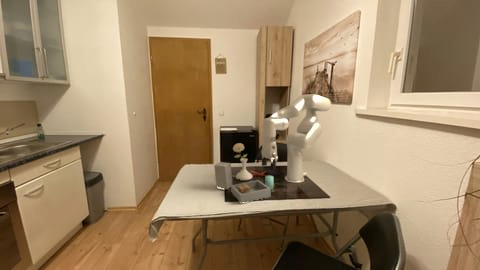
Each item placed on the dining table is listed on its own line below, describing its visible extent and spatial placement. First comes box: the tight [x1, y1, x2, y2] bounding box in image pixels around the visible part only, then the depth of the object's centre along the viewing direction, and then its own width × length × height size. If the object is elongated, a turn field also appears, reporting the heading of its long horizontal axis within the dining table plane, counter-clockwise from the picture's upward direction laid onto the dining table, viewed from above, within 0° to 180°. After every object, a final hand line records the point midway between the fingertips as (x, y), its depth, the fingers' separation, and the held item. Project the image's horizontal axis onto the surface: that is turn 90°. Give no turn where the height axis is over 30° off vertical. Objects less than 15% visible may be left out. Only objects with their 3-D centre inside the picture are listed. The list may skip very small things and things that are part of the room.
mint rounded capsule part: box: [264, 175, 275, 190], centre depth 128 cm, size 5×5×7 cm
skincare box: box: [213, 161, 234, 189], centre depth 128 cm, size 8×7×16 cm
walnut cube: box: [238, 184, 250, 194], centre depth 117 cm, size 5×5×5 cm
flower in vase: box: [232, 142, 253, 181], centre depth 142 cm, size 13×11×25 cm
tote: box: [230, 179, 272, 203], centre depth 119 cm, size 18×14×5 cm
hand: (268, 167), depth 126 cm, fingers open, 9 cm apart
